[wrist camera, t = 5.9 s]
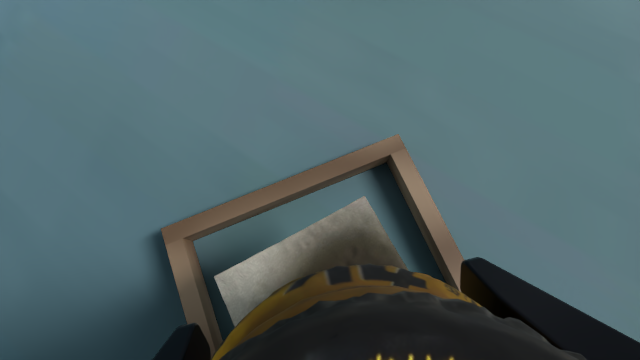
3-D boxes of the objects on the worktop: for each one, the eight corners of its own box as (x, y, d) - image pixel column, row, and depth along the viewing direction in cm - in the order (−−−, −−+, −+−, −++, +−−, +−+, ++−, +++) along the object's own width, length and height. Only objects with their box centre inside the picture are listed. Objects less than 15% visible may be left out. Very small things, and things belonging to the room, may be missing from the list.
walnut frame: (527, 404, 18) (544, 415, 16) (259, 535, 17) (252, 560, 15) (393, 143, 22) (398, 133, 21) (172, 232, 21) (160, 228, 19)
